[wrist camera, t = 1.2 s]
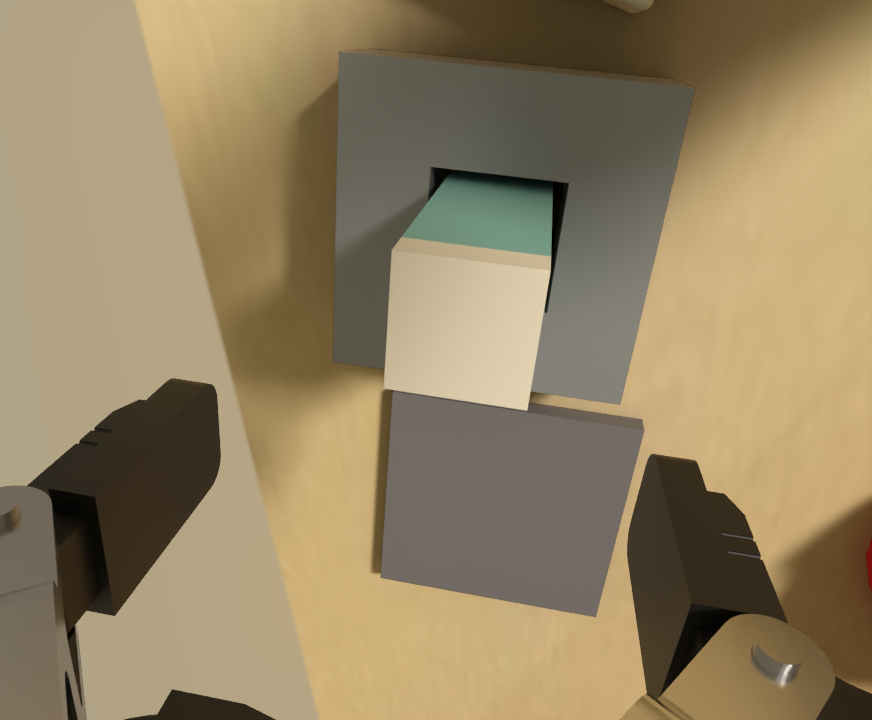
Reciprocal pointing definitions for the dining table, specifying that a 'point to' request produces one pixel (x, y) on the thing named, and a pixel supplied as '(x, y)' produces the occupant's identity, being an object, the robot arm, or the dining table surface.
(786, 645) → the robot arm
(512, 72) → the grey square socket block
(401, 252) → the plug
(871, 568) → the kitchen timer
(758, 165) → the dining table surface
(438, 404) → the mat
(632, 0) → the electrical outlet
